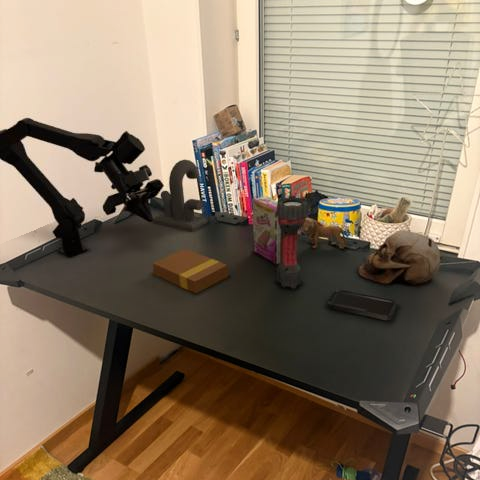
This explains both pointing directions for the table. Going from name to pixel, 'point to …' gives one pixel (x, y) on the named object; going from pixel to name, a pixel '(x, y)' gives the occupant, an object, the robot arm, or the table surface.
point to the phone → (362, 304)
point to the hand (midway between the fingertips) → (151, 221)
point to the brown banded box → (190, 270)
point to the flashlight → (290, 238)
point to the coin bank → (403, 259)
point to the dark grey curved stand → (180, 200)
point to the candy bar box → (266, 228)
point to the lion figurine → (322, 232)
